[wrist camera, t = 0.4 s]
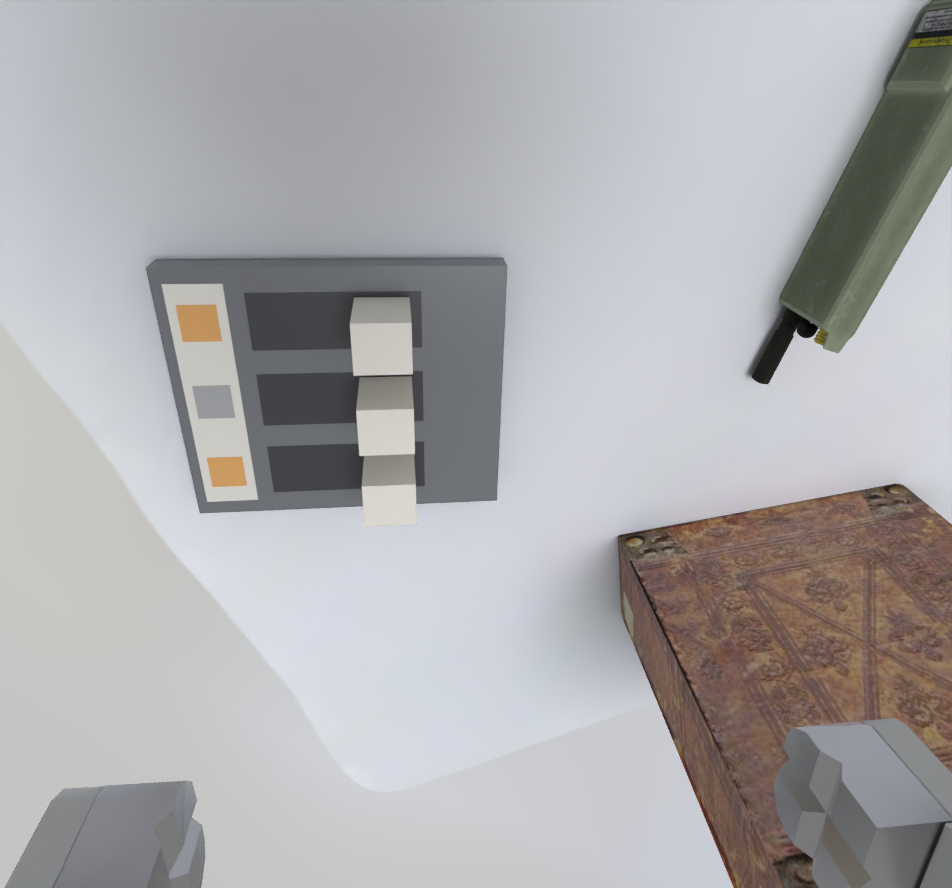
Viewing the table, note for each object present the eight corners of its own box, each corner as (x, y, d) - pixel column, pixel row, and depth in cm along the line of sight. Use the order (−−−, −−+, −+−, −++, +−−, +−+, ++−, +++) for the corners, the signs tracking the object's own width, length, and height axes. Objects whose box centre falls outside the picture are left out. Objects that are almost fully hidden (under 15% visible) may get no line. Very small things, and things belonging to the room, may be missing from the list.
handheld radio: (969, 10, 40) (771, 380, 51) (924, -9, 40) (733, 370, 51) (1062, -2, 34) (816, 419, 45) (1011, -24, 34) (774, 407, 45)
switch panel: (156, 259, 42) (145, 268, 40) (502, 258, 44) (507, 266, 42) (206, 498, 51) (199, 514, 49) (493, 486, 53) (496, 501, 51)
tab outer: (364, 448, 48) (361, 486, 43) (413, 446, 48) (415, 484, 44) (367, 486, 49) (364, 526, 45) (414, 484, 49) (416, 524, 45)
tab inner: (354, 297, 42) (349, 323, 38) (409, 296, 43) (411, 322, 38) (357, 345, 44) (353, 375, 39) (410, 344, 44) (412, 374, 40)
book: (903, 482, 57) (1325, 823, 31) (885, 563, 62) (1240, 920, 36) (615, 535, 57) (803, 928, 31) (619, 613, 61) (785, 1013, 35)
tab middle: (359, 377, 45) (356, 410, 40) (411, 376, 45) (413, 408, 41) (362, 419, 46) (359, 456, 42) (412, 418, 47) (414, 454, 42)
